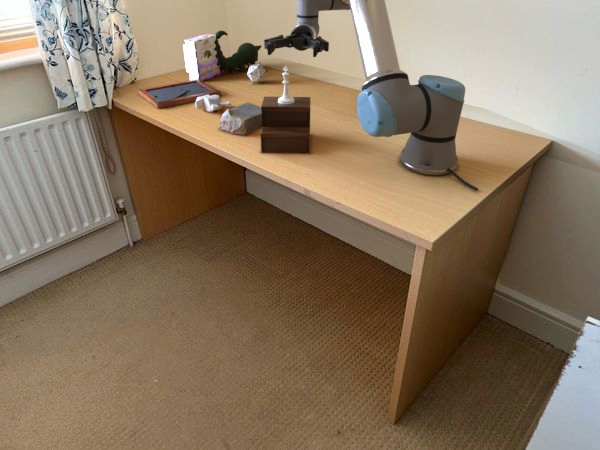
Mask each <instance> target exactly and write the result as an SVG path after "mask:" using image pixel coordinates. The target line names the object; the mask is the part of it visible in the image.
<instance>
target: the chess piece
mask: <svg viewBox="0 0 600 450" xmlns="http://www.w3.org/2000/svg"><path fill="white" fill-rule="evenodd" d="M289 70H290V69H289V68H288V66H287V65H285V66H284V67H283V68H282V71H284V72H282V77H283V80H282V82H281V83H282V84H283V85H284V86H283V93H282V95H281V96H279V97H280V98H278V103H280V104H292V103H294V102H295V101H294V98H293V97H294V96H291V95H290V93H289V91H290V90H289V85H288V84H290V80H289V76H290V72H288V71H289Z"/></svg>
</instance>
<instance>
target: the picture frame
mask: <svg viewBox="0 0 600 450" xmlns="http://www.w3.org/2000/svg"><path fill="white" fill-rule="evenodd" d="M138 94H139V95H140V96H141V97H143V98H144V99H145V100H146V101H148V102H149V104H151V105H153V107H155V108H156V109H163V108H168V107H173V106H178V105H181V104H187V103H192V102H196V99H197V97H200V96H204V95H209V96H212V95H218V96H219V97H221V90H219V89H217V88H215V87H213V86H212V85H210V84H208V83H206V82H205V81H201V80H199V79H195V80H190V79H189V80H185V81H179V82H172V83H168V84H162V85H155V86H150V87H146V88H145V87H144V88H141V89H140V88H139V89H138Z"/></svg>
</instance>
